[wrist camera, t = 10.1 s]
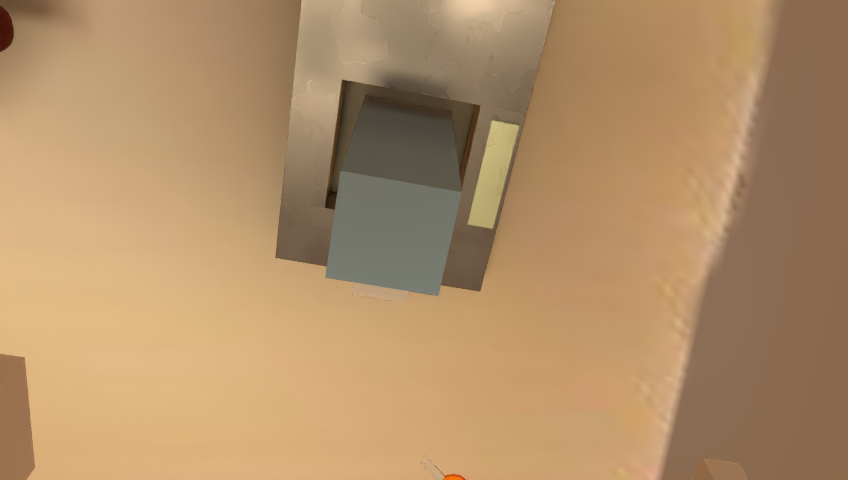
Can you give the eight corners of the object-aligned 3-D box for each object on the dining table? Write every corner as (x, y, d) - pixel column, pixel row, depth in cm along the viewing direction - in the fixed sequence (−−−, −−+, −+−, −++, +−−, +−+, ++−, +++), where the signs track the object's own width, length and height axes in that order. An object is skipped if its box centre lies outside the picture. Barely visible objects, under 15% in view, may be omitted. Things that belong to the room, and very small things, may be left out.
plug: (365, 95, 31) (340, 170, 22) (451, 111, 31) (461, 192, 22) (351, 191, 33) (322, 296, 24) (431, 205, 33) (433, 314, 24)
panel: (348, -368, 23) (341, -394, 21) (622, -302, 24) (640, -321, 22) (283, 239, 34) (274, 259, 32) (477, 271, 34) (480, 293, 33)
